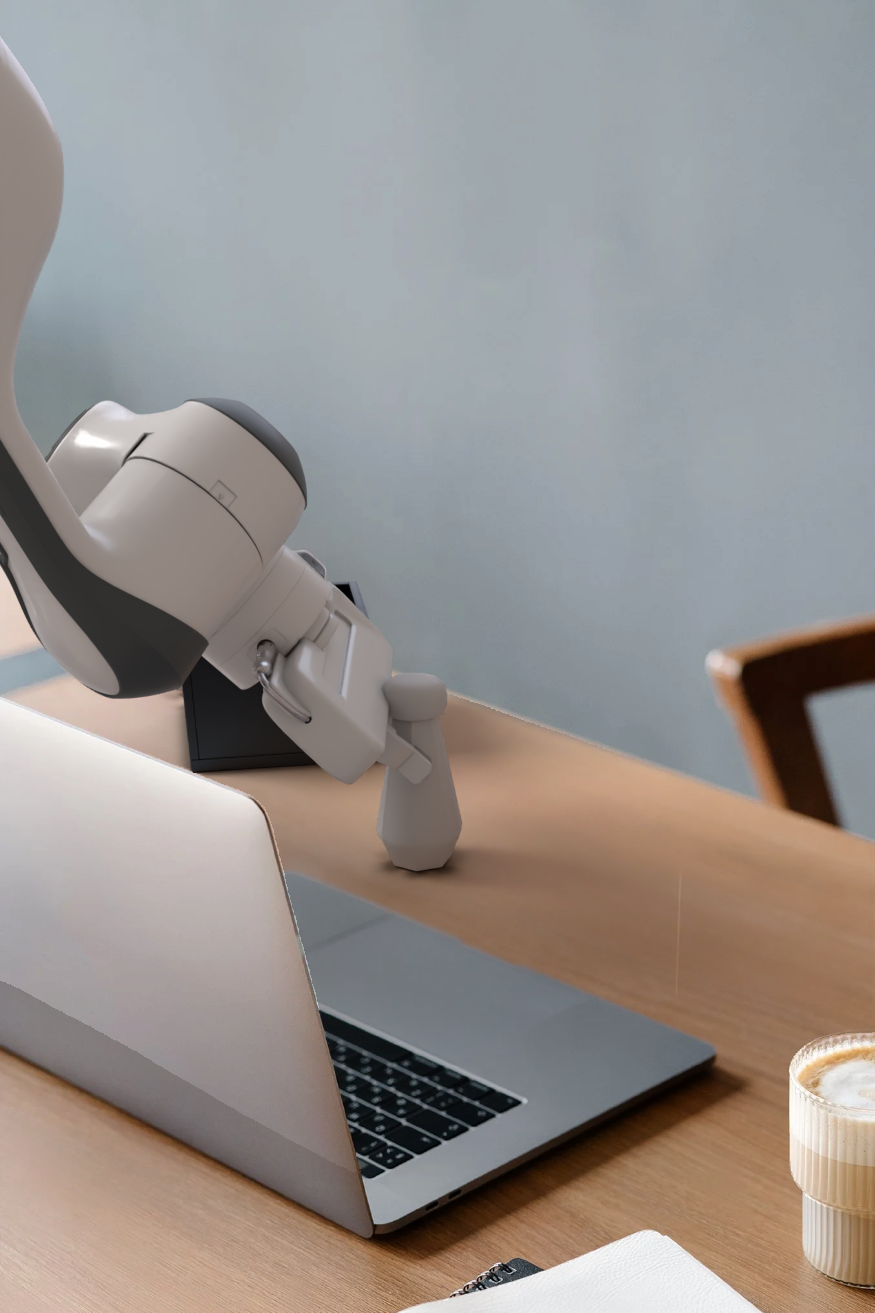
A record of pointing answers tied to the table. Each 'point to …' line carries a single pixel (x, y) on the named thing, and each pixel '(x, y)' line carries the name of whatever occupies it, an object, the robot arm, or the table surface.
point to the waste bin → (238, 718)
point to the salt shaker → (425, 813)
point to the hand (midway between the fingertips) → (426, 761)
